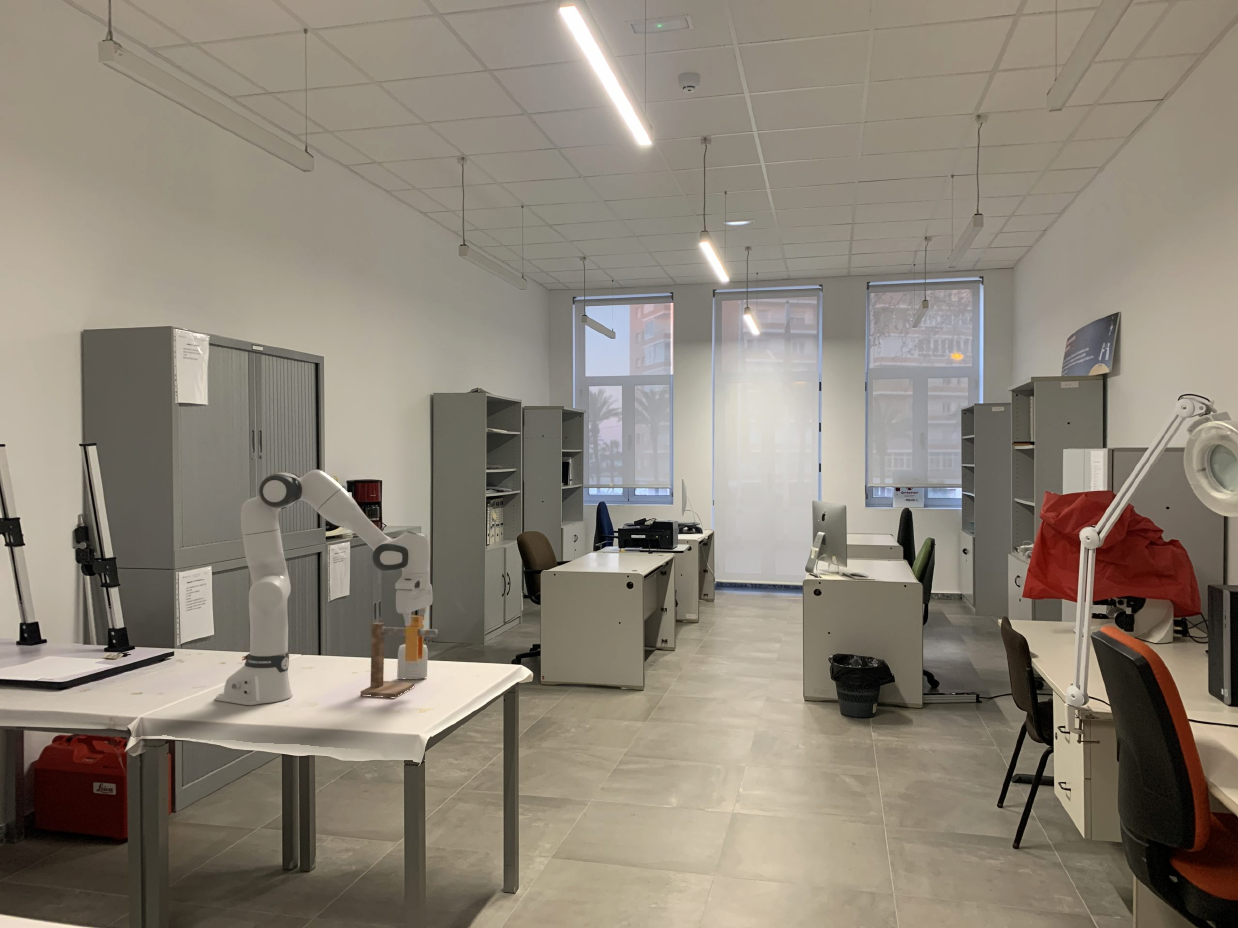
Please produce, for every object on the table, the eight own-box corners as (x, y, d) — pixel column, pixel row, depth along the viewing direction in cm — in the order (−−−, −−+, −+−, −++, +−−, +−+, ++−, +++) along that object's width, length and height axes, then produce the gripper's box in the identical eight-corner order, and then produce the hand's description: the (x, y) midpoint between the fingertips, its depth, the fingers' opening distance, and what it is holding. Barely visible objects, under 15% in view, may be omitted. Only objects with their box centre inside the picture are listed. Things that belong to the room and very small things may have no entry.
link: (405, 660, 259) (406, 617, 260) (411, 657, 264) (412, 614, 264) (416, 661, 259) (417, 617, 259) (423, 658, 263) (423, 615, 264)
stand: (360, 695, 257) (361, 626, 257) (381, 685, 271) (382, 619, 271) (425, 700, 253) (427, 630, 253) (443, 689, 266) (445, 622, 267)
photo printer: (427, 676, 283) (428, 641, 283) (426, 679, 279) (427, 644, 279) (398, 677, 282) (398, 642, 282) (396, 680, 278) (397, 644, 278)
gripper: (420, 576, 273) (419, 617, 272) (392, 584, 253) (391, 628, 252) (437, 577, 271) (437, 618, 271) (411, 585, 251) (410, 629, 251)
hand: (414, 623), depth 261 cm, fingers open, 8 cm apart
